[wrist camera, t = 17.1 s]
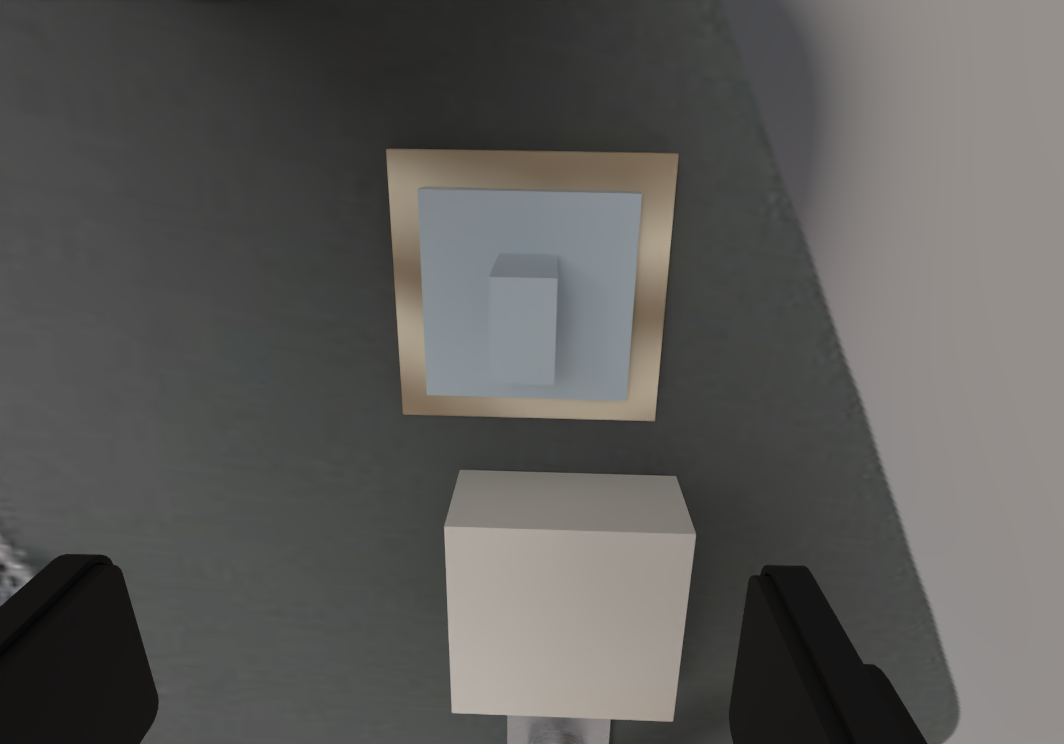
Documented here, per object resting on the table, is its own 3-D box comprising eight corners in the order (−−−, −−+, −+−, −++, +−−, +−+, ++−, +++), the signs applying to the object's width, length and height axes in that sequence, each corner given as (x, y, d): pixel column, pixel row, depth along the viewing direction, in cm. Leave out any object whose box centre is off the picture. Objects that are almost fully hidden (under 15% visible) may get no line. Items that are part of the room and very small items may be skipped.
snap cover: (423, 186, 27) (390, 201, 22) (638, 191, 27) (658, 206, 21) (431, 385, 30) (405, 440, 25) (623, 390, 30) (638, 447, 25)
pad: (391, 148, 27) (385, 149, 26) (674, 152, 27) (678, 153, 26) (407, 405, 32) (402, 414, 31) (651, 412, 31) (654, 420, 30)
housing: (459, 469, 33) (444, 526, 28) (676, 476, 33) (696, 534, 28) (465, 638, 37) (452, 712, 32) (657, 645, 37) (672, 721, 32)
